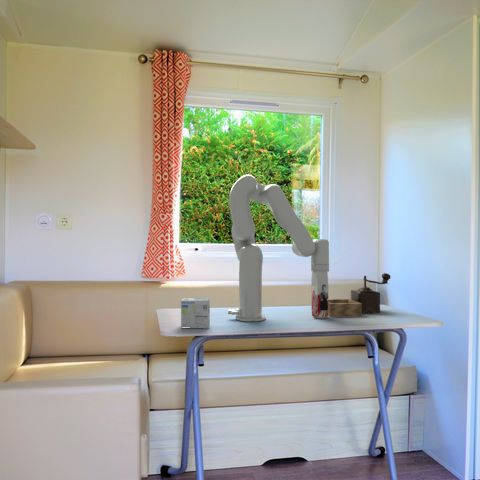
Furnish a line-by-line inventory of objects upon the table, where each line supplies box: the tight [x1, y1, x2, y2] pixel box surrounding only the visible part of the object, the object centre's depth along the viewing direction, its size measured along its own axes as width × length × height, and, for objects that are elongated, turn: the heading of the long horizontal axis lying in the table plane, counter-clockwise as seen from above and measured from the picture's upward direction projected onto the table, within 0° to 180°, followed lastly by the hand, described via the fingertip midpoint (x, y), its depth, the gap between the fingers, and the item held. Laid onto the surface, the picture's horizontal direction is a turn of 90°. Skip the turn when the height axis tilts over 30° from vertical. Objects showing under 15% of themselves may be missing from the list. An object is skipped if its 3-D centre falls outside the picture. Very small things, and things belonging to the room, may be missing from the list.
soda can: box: [311, 291, 329, 320], centre depth 177 cm, size 7×7×12 cm
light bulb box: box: [180, 297, 211, 329], centre depth 158 cm, size 11×7×11 cm, turn 93°
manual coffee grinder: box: [350, 272, 391, 314], centre depth 192 cm, size 16×11×18 cm
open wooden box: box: [328, 298, 363, 318], centre depth 187 cm, size 14×14×6 cm
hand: (320, 308), depth 177 cm, fingers open, 9 cm apart
